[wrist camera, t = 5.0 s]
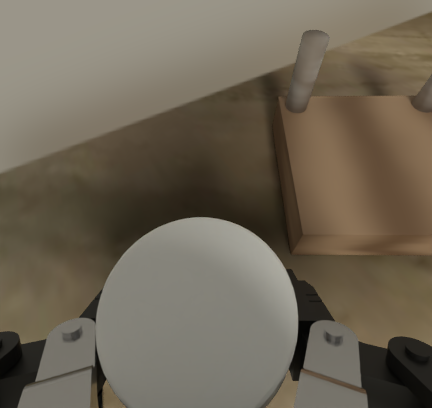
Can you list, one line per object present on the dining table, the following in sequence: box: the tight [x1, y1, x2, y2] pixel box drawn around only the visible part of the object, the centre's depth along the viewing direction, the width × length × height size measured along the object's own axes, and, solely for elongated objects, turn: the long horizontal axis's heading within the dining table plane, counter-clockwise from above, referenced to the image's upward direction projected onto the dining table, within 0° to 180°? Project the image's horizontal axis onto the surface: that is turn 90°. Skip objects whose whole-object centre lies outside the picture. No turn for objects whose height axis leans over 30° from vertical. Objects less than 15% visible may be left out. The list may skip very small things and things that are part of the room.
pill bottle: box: [96, 217, 298, 408], centre depth 10 cm, size 6×6×10 cm
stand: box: [272, 30, 432, 255], centre depth 17 cm, size 12×12×8 cm
